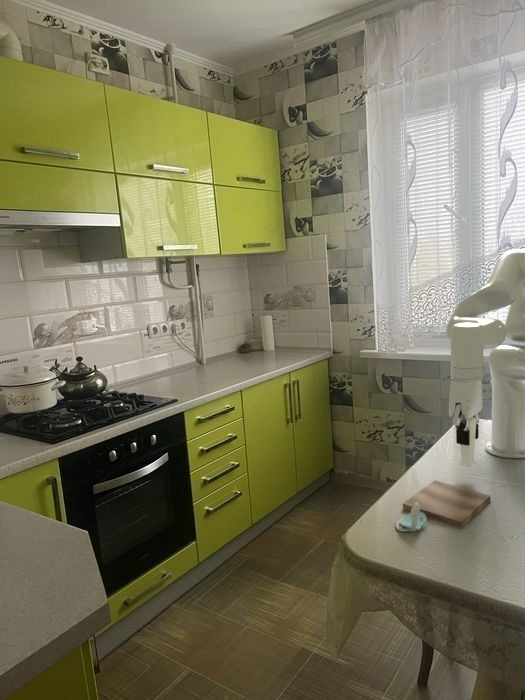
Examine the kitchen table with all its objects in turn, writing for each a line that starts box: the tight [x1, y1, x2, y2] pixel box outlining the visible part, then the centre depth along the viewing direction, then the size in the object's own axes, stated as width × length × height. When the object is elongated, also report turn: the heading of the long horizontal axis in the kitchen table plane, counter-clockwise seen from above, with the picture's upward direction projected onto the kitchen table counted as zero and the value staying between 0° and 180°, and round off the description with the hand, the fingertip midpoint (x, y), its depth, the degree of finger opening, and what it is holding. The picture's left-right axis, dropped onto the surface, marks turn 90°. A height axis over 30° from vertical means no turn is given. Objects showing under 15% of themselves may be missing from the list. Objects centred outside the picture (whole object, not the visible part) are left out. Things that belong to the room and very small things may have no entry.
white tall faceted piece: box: [459, 415, 477, 467], centre depth 132 cm, size 5×4×15 cm
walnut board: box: [402, 479, 492, 529], centre depth 121 cm, size 16×14×2 cm
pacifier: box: [395, 502, 428, 533], centre depth 113 cm, size 7×6×6 cm
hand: (467, 440), depth 132 cm, fingers closed on white tall faceted piece, 4 cm apart
